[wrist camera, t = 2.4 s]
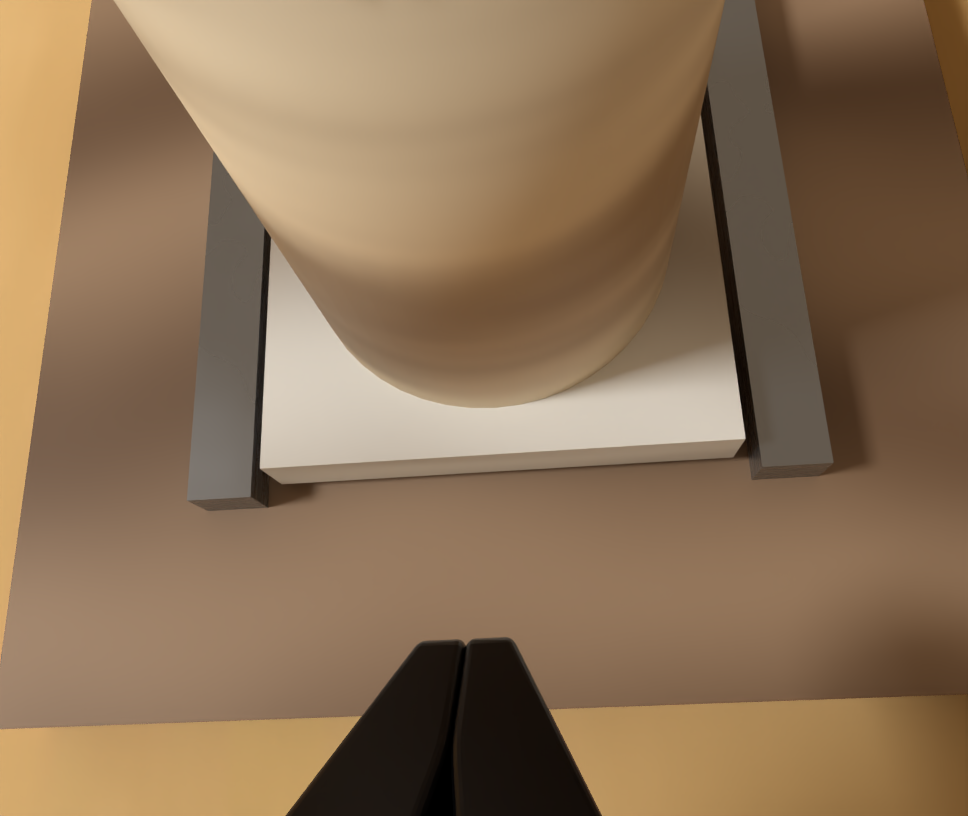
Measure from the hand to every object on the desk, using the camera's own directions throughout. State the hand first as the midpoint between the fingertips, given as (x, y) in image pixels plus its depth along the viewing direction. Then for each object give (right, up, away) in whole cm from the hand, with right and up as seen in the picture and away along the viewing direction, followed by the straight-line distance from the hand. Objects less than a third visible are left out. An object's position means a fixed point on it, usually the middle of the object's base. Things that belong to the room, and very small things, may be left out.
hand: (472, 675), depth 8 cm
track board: (0, +8, +10) cm, 13 cm away
